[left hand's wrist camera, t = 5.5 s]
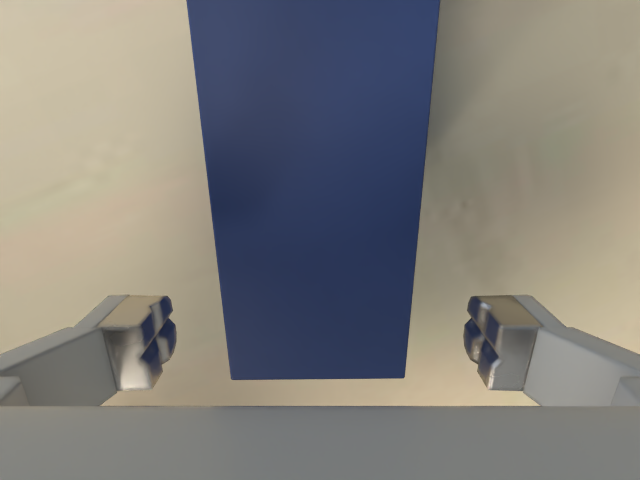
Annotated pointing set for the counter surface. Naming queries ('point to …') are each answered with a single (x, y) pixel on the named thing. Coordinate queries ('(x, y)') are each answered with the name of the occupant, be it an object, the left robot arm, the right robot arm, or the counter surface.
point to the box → (315, 177)
